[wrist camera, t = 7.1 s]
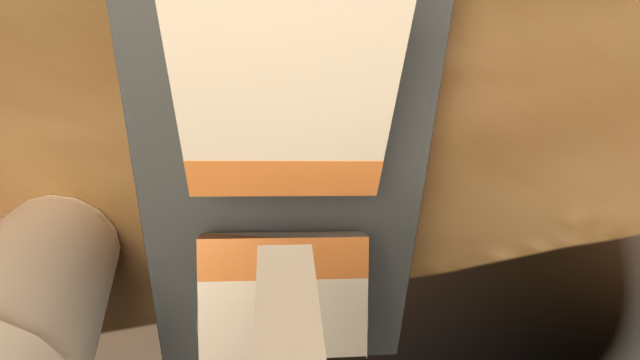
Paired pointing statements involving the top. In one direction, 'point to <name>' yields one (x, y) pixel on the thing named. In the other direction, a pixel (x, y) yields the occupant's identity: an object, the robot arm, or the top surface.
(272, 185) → the panel
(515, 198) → the top surface
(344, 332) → the block
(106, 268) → the foam cup
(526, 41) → the top surface
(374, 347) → the switch unit
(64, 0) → the top surface
